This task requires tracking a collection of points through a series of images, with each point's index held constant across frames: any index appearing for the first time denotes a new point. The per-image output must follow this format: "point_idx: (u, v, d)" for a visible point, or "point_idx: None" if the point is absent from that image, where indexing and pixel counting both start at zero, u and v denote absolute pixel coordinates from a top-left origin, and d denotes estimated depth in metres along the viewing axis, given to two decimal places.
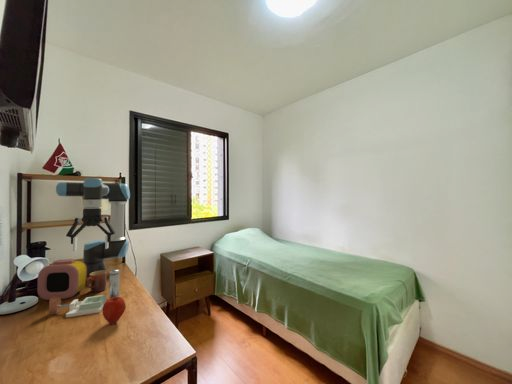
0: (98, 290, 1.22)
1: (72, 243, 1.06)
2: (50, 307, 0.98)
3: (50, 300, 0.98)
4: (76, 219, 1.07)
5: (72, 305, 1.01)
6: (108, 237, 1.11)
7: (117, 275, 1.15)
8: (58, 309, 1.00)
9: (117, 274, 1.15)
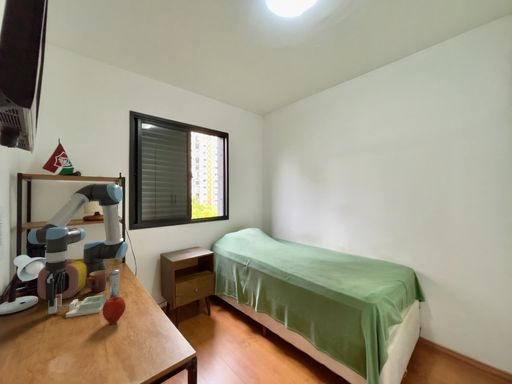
0: (98, 290, 1.22)
1: None
2: None
3: None
4: None
5: (72, 305, 1.01)
6: None
7: (117, 275, 1.15)
8: (58, 309, 1.00)
9: (117, 274, 1.15)
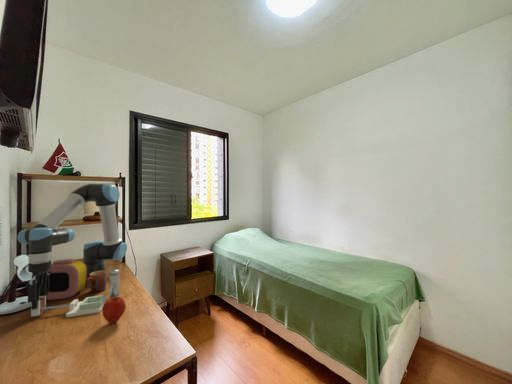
0: (98, 290, 1.22)
1: None
2: None
3: None
4: None
5: (72, 305, 1.01)
6: None
7: (117, 275, 1.15)
8: (42, 311, 0.98)
9: (117, 274, 1.15)
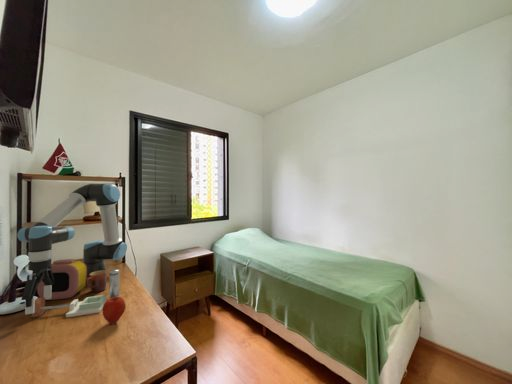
0: (98, 290, 1.22)
1: None
2: None
3: None
4: None
5: (72, 305, 1.01)
6: None
7: (117, 275, 1.15)
8: (42, 311, 0.98)
9: (117, 274, 1.15)
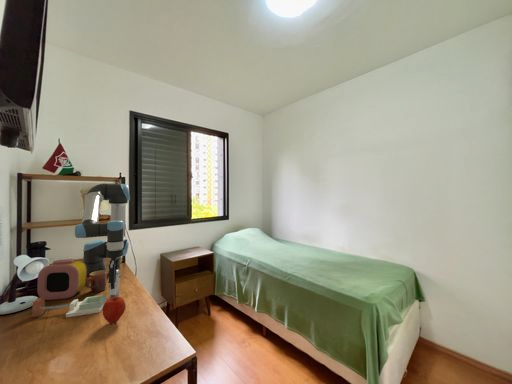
0: (98, 290, 1.22)
1: None
2: (33, 309, 0.96)
3: (33, 302, 0.96)
4: None
5: (72, 305, 1.01)
6: (111, 284, 1.12)
7: (117, 275, 1.15)
8: (42, 311, 0.98)
9: (117, 274, 1.15)
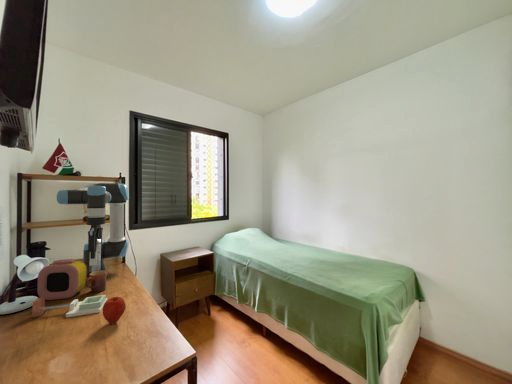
0: (98, 290, 1.22)
1: None
2: (33, 309, 0.96)
3: (33, 302, 0.96)
4: None
5: (72, 305, 1.01)
6: (91, 253, 1.03)
7: (98, 245, 1.06)
8: (42, 311, 0.98)
9: (98, 244, 1.06)
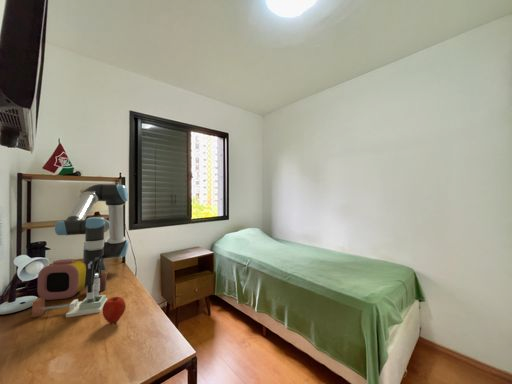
0: None
1: None
2: (33, 309, 0.96)
3: (33, 302, 0.96)
4: None
5: (72, 305, 1.01)
6: (88, 287, 1.01)
7: (96, 279, 1.05)
8: (42, 311, 0.98)
9: (96, 278, 1.05)
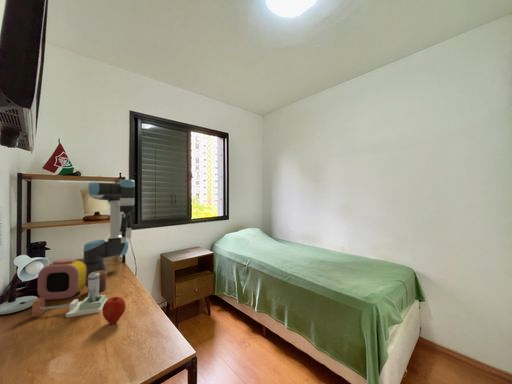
0: None
1: None
2: (33, 309, 0.96)
3: (33, 302, 0.96)
4: None
5: (72, 305, 1.01)
6: (122, 232, 1.21)
7: (96, 279, 1.05)
8: (42, 311, 0.98)
9: (96, 278, 1.05)
